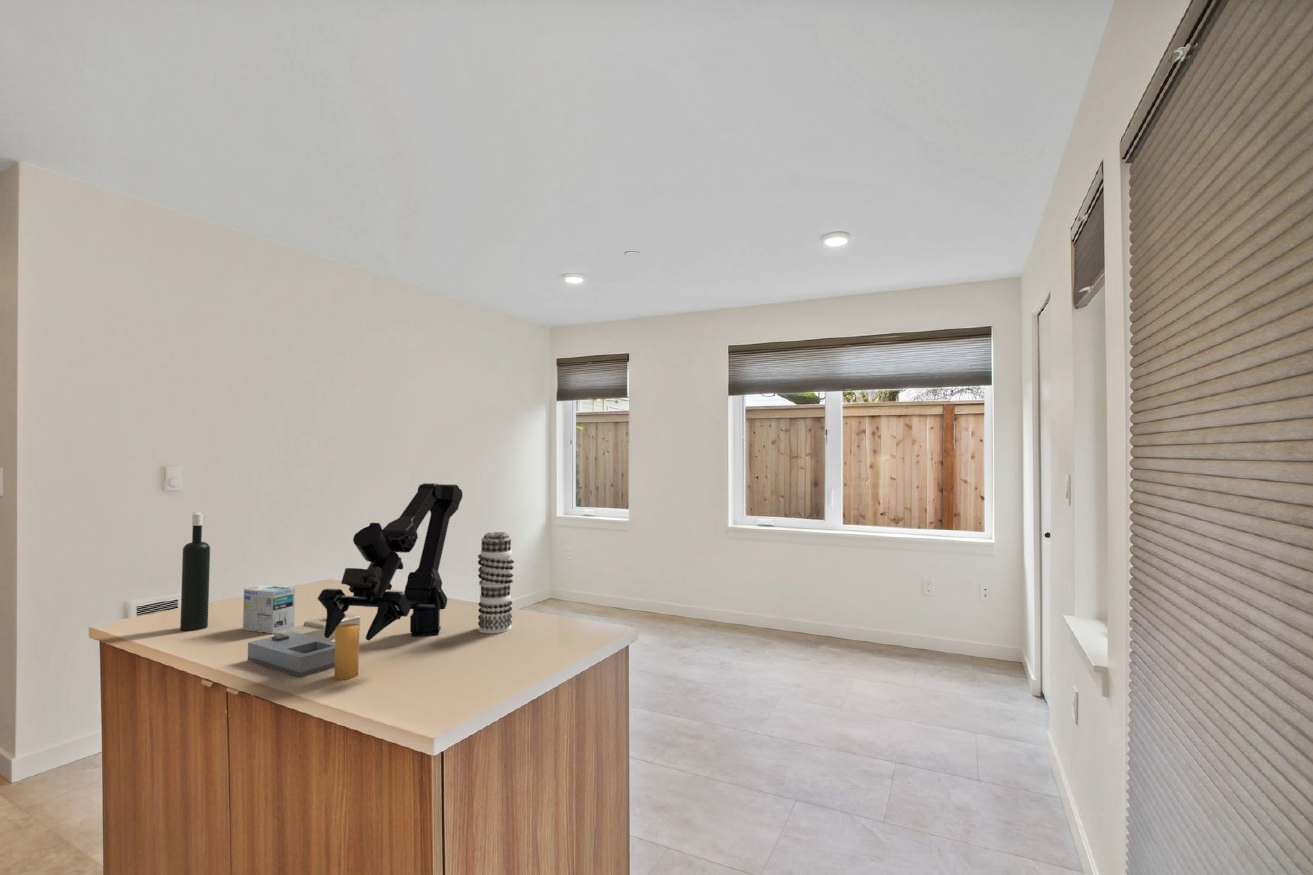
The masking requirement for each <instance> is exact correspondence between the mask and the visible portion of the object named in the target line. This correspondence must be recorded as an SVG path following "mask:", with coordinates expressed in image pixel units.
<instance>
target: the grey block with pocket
mask: <svg viewBox="0 0 1313 875" xmlns="http://www.w3.org/2000/svg"><path fill="white" fill-rule="evenodd" d="M247 661H248V662H250V661H251V662H250V663H253V664H257V665H260V666H263V667H266V668H269V669H272V670H276V671H278V670H279V671H278V672H282V673H285V674H288V675H291V674H292V675H291V676H294V677H298V678H303V677H306V676H309V674H310V675H314V674H316V673H319V672H323V670H324V671H326V670H329V669H335V641H331V640H324V639H321V638H317V637H313V636H309V635H305V634H301V633H297V632H290V633H286V634H281V635H277V636H274V635H273V636H269V637H265V638H261V639H257V640H253V641H248V642H247Z"/></svg>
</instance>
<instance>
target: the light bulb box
mask: <svg viewBox="0 0 1313 875" xmlns="http://www.w3.org/2000/svg"><path fill="white" fill-rule="evenodd" d="M242 612H243V613H242V615H243V617H242V618H243V619H242V620H243V621H242V631H248V632H255V631H260V632H259V633H262V632H266V633H265V634H270V633H273V634H274V632H276V631H280V630H285V629H289V628H292V627H296V624H295V622H296V620H295V619H296V617H295V616H296V615H295V614H296V613H295V612H296V587H295V586H283V585H273V584H271V585H270V584H262V585H257V586H253V587H246V588H243V610H242Z"/></svg>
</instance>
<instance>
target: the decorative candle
mask: <svg viewBox="0 0 1313 875" xmlns="http://www.w3.org/2000/svg"><path fill="white" fill-rule="evenodd" d="M480 540H481V549H480V554H478V555H477V557H478V559H479V560H477V563H478V565H480V567H479V568H478V569H477V570H478V573H479V574H477V576H478V579H480V580H479V582H478V585H479V586H480V595H479V602H478V603H477V604H478V607H480V608H478V610H477V611H478V613H479V615H478V616H477V617H478V620H479V621H478V623H477V624H478V626H479V627H478V628H477V629H478V632H480V633H483V634H502V633H506V632H508V631H510V630H512V625H511V624H512V623H513V621H512V617H513V615H512V613H511V612H512V610H513V607H512V606H511V605H512V604H513V602H512V595H511V585H512V584H513V582H514V580H513V579H512V578H513V576H514V574H513V573H512V572H511V571H512V570H513V569H514V566H513V564H514V563H515V560H513V559H511V556H512V554H513V551H512V549H511V547H512V540H513V538H512V537H511V536H510V535H509V534H508V533H507V532H504V531H499V532H498V531H492V532H491V531H490V532H486V533H485V534H484V535H483V538H480Z"/></svg>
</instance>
